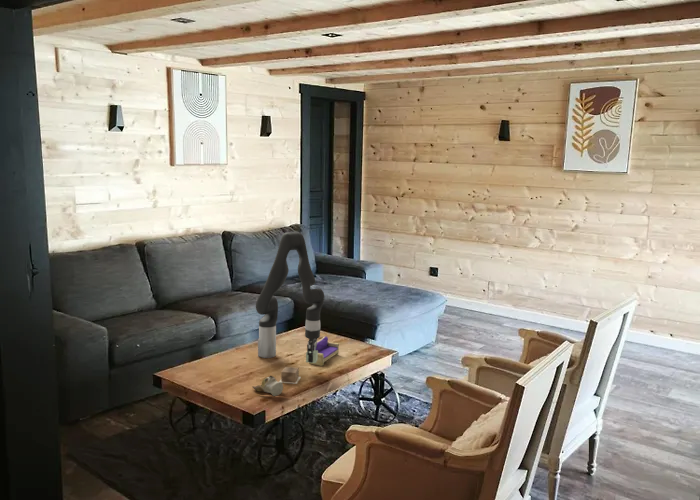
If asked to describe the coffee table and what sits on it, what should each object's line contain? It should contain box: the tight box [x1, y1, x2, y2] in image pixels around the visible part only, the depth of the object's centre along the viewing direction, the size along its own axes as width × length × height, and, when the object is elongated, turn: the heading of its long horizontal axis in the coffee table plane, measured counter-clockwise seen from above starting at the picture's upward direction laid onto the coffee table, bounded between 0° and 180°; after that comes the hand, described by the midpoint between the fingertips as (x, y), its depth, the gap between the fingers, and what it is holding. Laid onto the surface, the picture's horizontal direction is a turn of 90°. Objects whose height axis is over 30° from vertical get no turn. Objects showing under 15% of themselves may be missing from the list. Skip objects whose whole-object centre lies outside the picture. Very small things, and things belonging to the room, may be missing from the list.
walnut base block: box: [280, 366, 300, 384], centre depth 299 cm, size 7×7×5 cm
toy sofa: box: [309, 335, 340, 367], centre depth 331 cm, size 21×9×10 cm, turn 156°
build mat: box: [278, 376, 301, 385], centre depth 300 cm, size 12×12×1 cm
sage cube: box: [305, 350, 318, 363], centre depth 308 cm, size 5×5×5 cm
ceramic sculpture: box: [251, 375, 284, 397], centre depth 284 cm, size 11×9×15 cm
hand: (311, 359), depth 308 cm, fingers closed on sage cube, 5 cm apart
